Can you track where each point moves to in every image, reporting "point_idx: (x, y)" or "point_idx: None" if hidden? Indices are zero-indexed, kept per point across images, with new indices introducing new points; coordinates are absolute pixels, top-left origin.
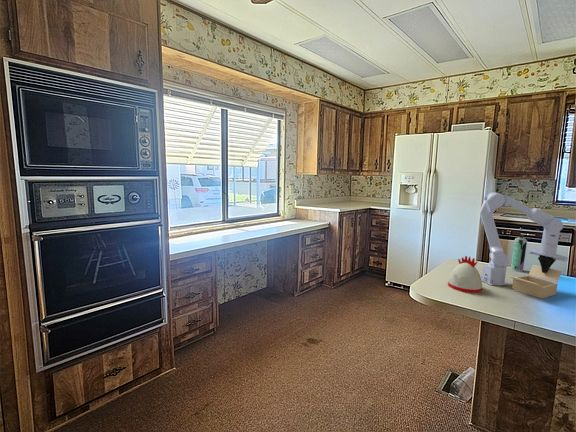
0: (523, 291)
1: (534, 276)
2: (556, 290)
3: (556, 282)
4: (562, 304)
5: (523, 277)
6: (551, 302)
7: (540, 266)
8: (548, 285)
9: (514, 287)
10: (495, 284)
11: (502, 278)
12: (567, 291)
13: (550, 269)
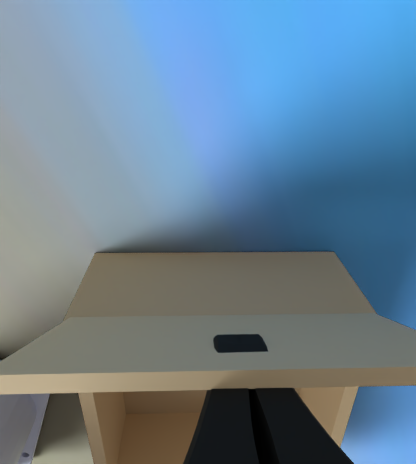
0: (192, 417)
1: (133, 317)
2: (347, 275)
3: (368, 316)
4: (406, 393)
5: (97, 401)
6: (356, 413)
7: (132, 390)
8: (336, 432)
9: (131, 426)
10: (34, 450)
11: (17, 462)
12: (385, 43)
13: (314, 381)
